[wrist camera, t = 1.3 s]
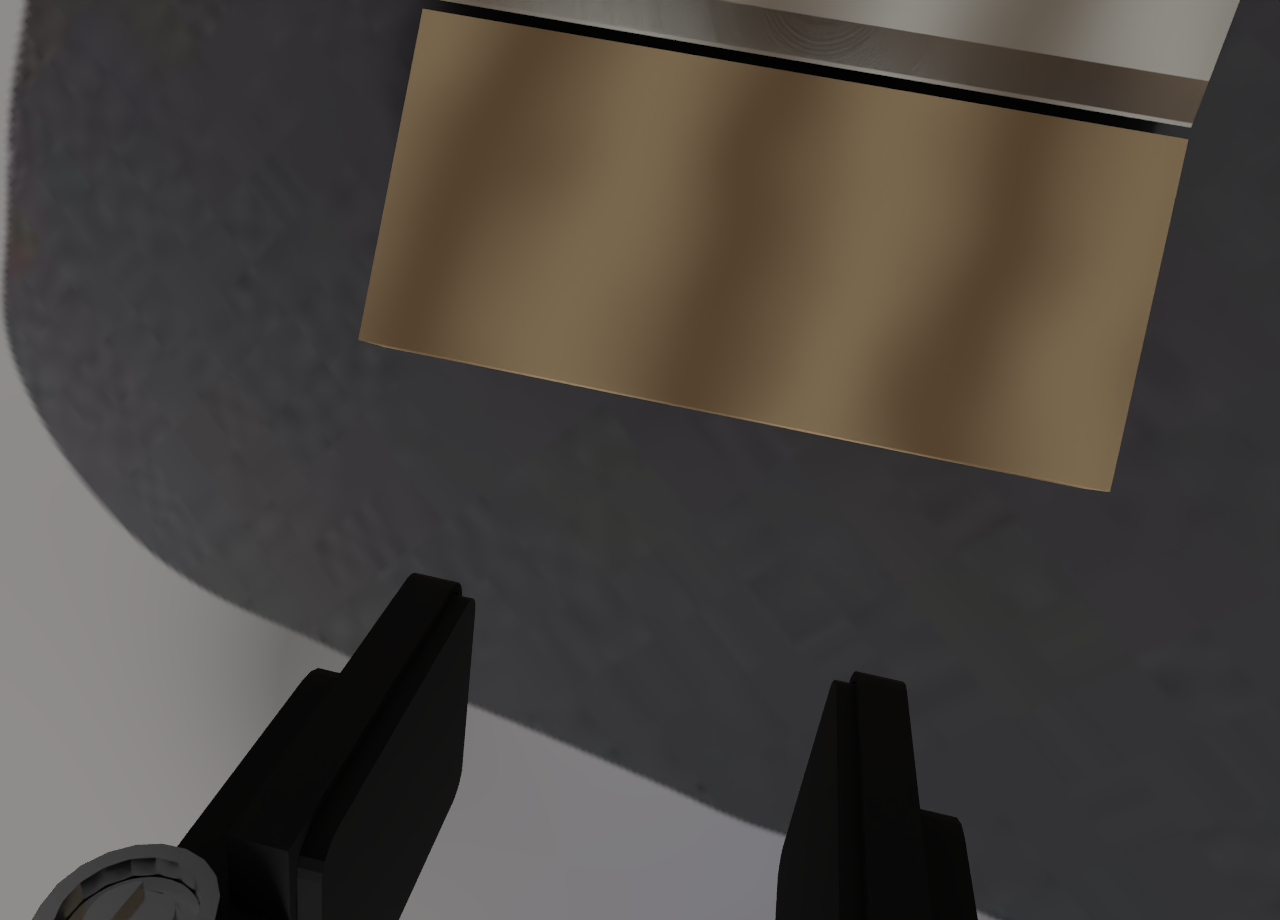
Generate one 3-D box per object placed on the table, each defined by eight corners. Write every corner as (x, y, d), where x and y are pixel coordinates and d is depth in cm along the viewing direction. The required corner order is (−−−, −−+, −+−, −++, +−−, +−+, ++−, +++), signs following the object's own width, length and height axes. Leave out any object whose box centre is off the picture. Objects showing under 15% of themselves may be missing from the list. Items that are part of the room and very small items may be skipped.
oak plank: (1154, 162, 27) (1188, 139, 25) (1081, 488, 27) (1110, 492, 25) (444, 39, 28) (422, 8, 26) (384, 346, 29) (358, 339, 27)
